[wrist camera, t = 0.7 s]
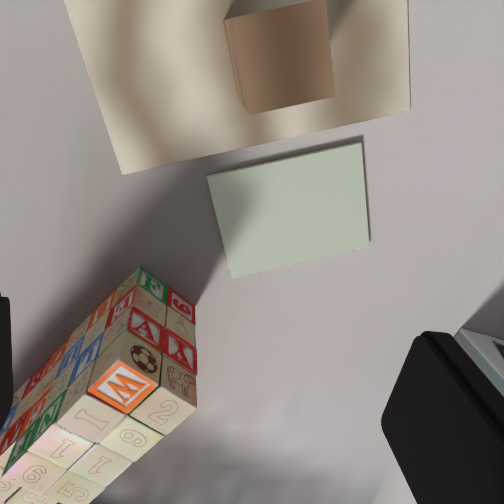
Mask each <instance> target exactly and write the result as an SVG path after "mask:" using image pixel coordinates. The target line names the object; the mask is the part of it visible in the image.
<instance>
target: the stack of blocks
mask: <svg viewBox="0 0 504 504" xmlns="http://www.w3.org/2000/svg"><path fill="white" fill-rule="evenodd" d="M196 375H197V350H196V341H195V306H194V305H192V304H191V303H190V302H188V301H187V300H186V299H184V298H183V297H181V296H180V295H179V294H177V293H176V292H175V291H173V290H172V289H171V288H169V287H167V286H166V285H164V284H163V283H162V282H160V281H159V280H158V279H156V278H155V277H154V276H152V275H151V274H150V273H148V272H147V271H146V270H144V269H143V268H142V267H138V268H137V269H136V270H135V271H134V273H133V274H132V275H131V276H130V277H129V278H128V279H127V280H126V281H125V282H124V283H123V284H122V285H121V286H120V287H119V288H118V289H116V290H114V291H113V292H112V293H111V294H110V295H109V296H108V297H107V298H106V299H105V300H104V301H103V302H102V303H101V304H100V305H99V306H98V307H97V308H96V309H95V310H94V312H93V313H92V314H91V315H90V316H89V317H87V318H86V319H85V320H84V321H83V322H82V323H81V325H80V326H79V327H78V328H77V329H76V330H75V331H74V332H73V333H72V334H71V337H70V338H68V340H67V341H66V342H65V343H64V344H63V345H62V346H61V347H60V348H59V349H58V350H57V351H56V352H55V353H54V354H53V355H52V357H51V358H50V359H49V360H48V361H47V362H46V363H45V364H44V365H43V366H42V367H41V368H40V369H39V370H38V371H37V372H36V373H35V374H34V375H33V377H32V378H29V379H28V380H27V381H26V382H25V383H24V384H23V385H22V386H21V387H20V388H19V389H18V390H17V391H16V392H15V393H14V394H13V402H12V407H11V410H10V412H9V415H8V417H7V419H6V421H5V423H4V425H3V427H2V429H1V431H0V504H56V503H57V502H60V503H62V504H89V503H90V502H91V501H92V500H93V499H94V498H95V497H97V496H98V495H99V494H100V493H101V492H102V491H103V490H104V489H105V488H106V486H107V485H109V484H110V483H111V482H112V481H113V480H115V479H116V478H117V477H118V476H119V475H120V474H121V473H122V472H123V471H125V470H126V469H127V468H128V467H129V466H130V465H131V464H132V462H135V461H137V460H138V459H139V458H140V457H141V456H142V455H144V454H145V453H146V452H147V451H148V450H149V449H151V448H152V447H153V446H154V445H155V444H156V443H157V442H158V441H159V440H161V439H162V438H163V437H164V435H167V434H169V433H170V432H171V431H172V430H173V429H174V428H175V427H177V426H178V425H179V424H180V423H181V422H182V421H184V420H185V419H186V418H187V417H188V416H189V415H191V414H192V413H193V412H194V411H195V410H196V408H197V394H196Z"/></svg>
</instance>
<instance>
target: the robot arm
mask: <svg viewBox="0 0 504 504" xmlns="http://www.w3.org/2000/svg"><path fill="white" fill-rule="evenodd" d="M12 402H13V370H12V345H11V320H10V301H9V298H8V297H1V293H0V431H1V429H2V427H3V425H4V423H5V421H6V419H7V417H8V415H9V412H10V410H11V407H12ZM381 426H382V430H383V433H384V435H385V437H386V439H387V441H388V443H389V445H390V447H391V449H392V452H393V454H394V456H395V458H396V460H397V462H398V464H399V466H400V468H401V471H402V473H403V475H404V477H405V479H406V481H407V483H408V485H409V487H410V489H411V492H412V494H413V496H414V498H415V500H416V502H417V504H504V396H503V395H502V394H501V393H500V392H499V391H498V389H497V388H496V387H495V386H494V385H493V384H492V382H491V381H490V380H489V379H488V378H487V376H486V375H485V374H484V373H483V372H482V371H481V369H480V368H479V367H478V366H477V365H476V364H475V362H474V361H473V360H472V359H471V358H470V356H469V355H468V354H467V353H466V352H465V351H464V349H463V348H462V347H461V346H460V345H459V344H458V342H457V341H456V340H455V339H454V338H453V336H451V335H450V334H449V333H443V332H433V331H425V332H423V333H422V334H421V335H420V336H417V337H416V338H415V339H414V341H413V343H412V345H411V348H410V350H409V353H408V355H407V357H406V360H405V362H404V365H403V367H402V369H401V372H400V374H399V376H398V379H397V381H396V384H395V386H394V388H393V391H392V393H391V395H390V398H389V400H388V403H387V405H386V407H385V410H384V412H383V414H382V418H381Z"/></svg>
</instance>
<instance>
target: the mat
mask: <svg viewBox="0 0 504 504" xmlns="http://www.w3.org/2000/svg"><path fill="white" fill-rule="evenodd" d="M207 181H208V185H209V189H210V193H211V197H212V201H213V205H214V209H215V213H216V217H217V221H218V225H219V229H220V233H221V238H222V242H223V246H224V250H225V254H226V258H227V262H228V266H229V270H230V274H231V278H236V277H240V276H245V275H249V274H254V273H258V272H262V271H267V270H271V269H275V268H280V267H284V266H288V265H293V264H297V263H302V262H306V261H310V260H315V259H319V258H323V257H328V256H332V255H336V254H341V253H345V252H349V251H354V250H358V249H363V248H367V247H369V234H368V221H367V209H366V196H365V183H364V170H363V157H362V144H361V142H355V143H350V144H346V145H341V146H337V147H332V148H328V149H323V150H319V151H314V152H310V153H305V154H301V155H296V156H292V157H287V158H283V159H279V160H274V161H270V162H265V163H261V164H256V165H252V166H247V167H243V168H238V169H234V170H229V171H225V172H220V173H216V174H211V175H207Z"/></svg>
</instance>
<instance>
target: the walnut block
mask: <svg viewBox="0 0 504 504" xmlns="http://www.w3.org/2000/svg"><path fill="white" fill-rule="evenodd" d="M223 22H224V28H225V33H226V38H227V43H228V48H229V53H230V58H231V63H232V68H233V74H234V79H235V84H236V89H237V94H238V99H239V100H240V102H241V103H242V104H243V106H244V107H245V109H246V110H247V111H248V113H249V114H250V115H254V114H258V113H263V112H267V111H272V110H276V109H281V108H286V107H290V106H295V105H299V104H304V103H308V102H313V101H317V100H322V99H326V98H331V97H335V86H334V76H333V66H332V56H331V46H330V36H329V26H328V16H327V6H326V0H313V1H308V2H303V3H299V4H294V5H289V6H285V7H280V8H275V9H271V10H266V11H261V12H257V13H252V14H247V15H243V16H238V17H233V18H230V19H227V20H224V21H223Z"/></svg>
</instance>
